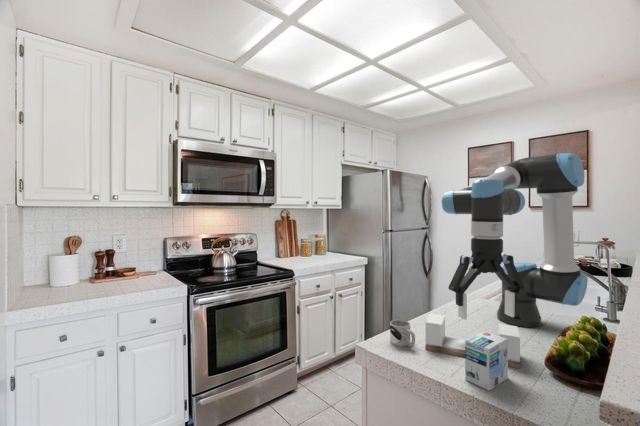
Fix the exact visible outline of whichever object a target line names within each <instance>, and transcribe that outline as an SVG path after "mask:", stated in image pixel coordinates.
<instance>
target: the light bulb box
mask: <svg viewBox="0 0 640 426" xmlns="http://www.w3.org/2000/svg"><path fill="white" fill-rule="evenodd" d="M464 340H465V357H464V368H465V369H464V370H465V371H464V376H465V377H464V380H465V381H468V382H470V383H472V384H474V385H475V386H479V387H480V388H483V389H484V390H486V391H489V392H490V391H491V390H493V389H494V388H495V387H498V385H500V384H501V383H502V382H504V381H506V380H507V379H508V376H509V373H508V371H509V370H508V369H509V366H508V339H506V338H503V337H500V336H499V335H496V334H492V333H491V332H488V331H482V332H480V333H478V334H475V335H473V336H472V337H470V338H468V339H464Z"/></svg>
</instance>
